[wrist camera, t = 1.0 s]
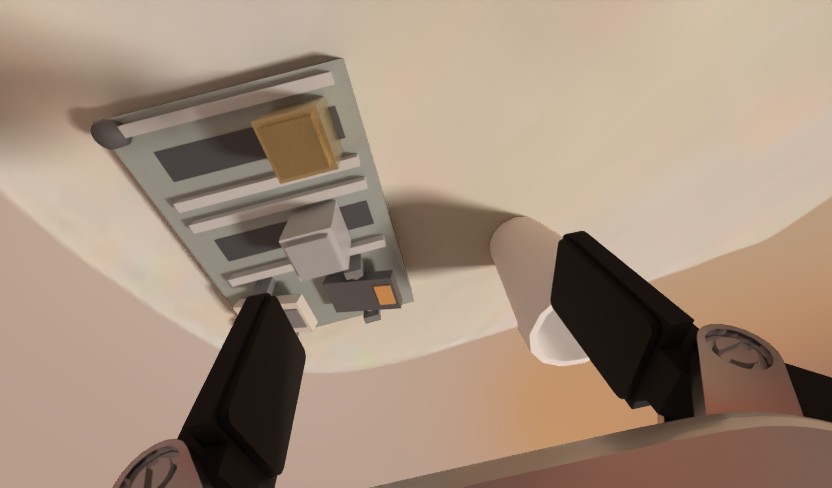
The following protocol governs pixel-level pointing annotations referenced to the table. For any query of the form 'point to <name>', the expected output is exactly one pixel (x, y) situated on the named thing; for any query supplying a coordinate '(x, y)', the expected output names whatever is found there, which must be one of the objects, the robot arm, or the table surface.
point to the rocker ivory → (292, 312)
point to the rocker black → (363, 292)
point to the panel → (257, 185)
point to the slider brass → (299, 140)
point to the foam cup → (534, 288)
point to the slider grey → (317, 241)
